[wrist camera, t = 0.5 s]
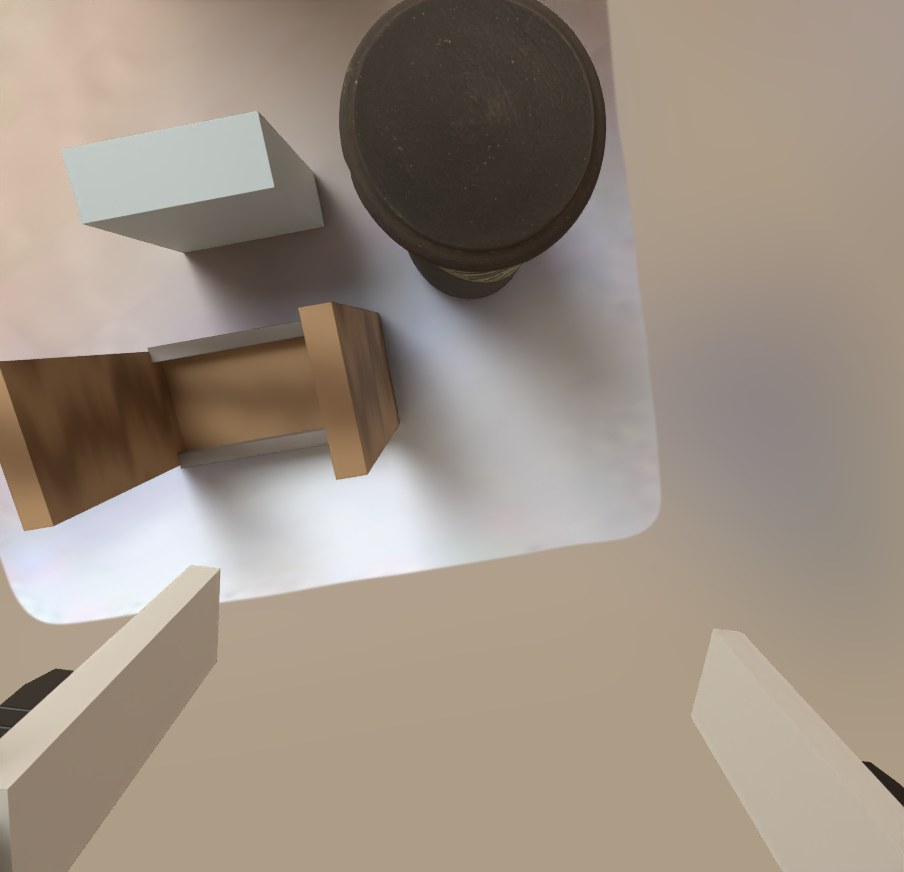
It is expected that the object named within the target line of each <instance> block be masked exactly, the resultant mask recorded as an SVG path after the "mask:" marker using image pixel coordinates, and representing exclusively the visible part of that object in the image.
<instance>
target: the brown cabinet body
mask: <svg viewBox="0 0 904 872" xmlns="http://www.w3.org/2000/svg"><path fill="white" fill-rule="evenodd" d="M298 310H299V314H300V319H301V321H296V322H291V323H285V324H280V325H274V326H268V327H263V328H257V329H252V330H246V331H240V332H235V333H229V334H223V335H218V336H212V337H207V338H201V339H195V340H190V341H184V342H179V343H173V344H167V345H162V346H156V347H150V348H148V351H149V352H137V353H122V354H106V355H91V356H76V357H61V358H46V359H31V360H15V361H0V464H1V467H2V469H3V472H4V475H5V478H6V481H7V484H8V487H9V490H10V492H11V495H12V498H13V501H14V504H15V507H16V510H17V512H18V515H19V518H20V521H21V524H22V527H23V530H24V531H27V530H34V529H40V528H46V527H52V526H55V525H57V524H59V523H61V522H63V521H65V520H67V519H70V518H72V517H74V516H76V515H78V514H80V513H82V512H84V511H86V510H88V509H90V508H92V507H94V506H97V505H99V504H101V503H103V502H105V501H107V500H109V499H111V498H113V497H115V496H117V495H119V494H121V493H123V492H126V491H128V490H130V489H132V488H134V487H136V486H138V485H140V484H142V483H144V482H146V481H148V480H150V479H153V478H155V477H157V476H159V475H161V474H163V473H165V472H167V471H169V470H171V469H173V468H175V467H177V466H179V465H181V468H187V467H193V466H199V465H205V464H211V463H217V462H223V461H229V460H235V459H241V458H247V457H253V456H259V455H265V454H271V453H277V452H283V451H289V450H295V449H301V448H307V447H313V446H319V445H325V444H328V445H329V449H330V454H331V458H332V463H333V467H334V472H335V476H336V480H338V479H344V478H350V477H357V476H363V475H368V473H369V471H370V470H371V468H372V467H373V465H374V464H375V462H376V460H377V459H378V457H379V456H380V454H381V452H382V451H383V449H384V448H385V446H386V444H387V443H388V441H389V440H390V438H391V437H392V435H393V433H394V432H395V430H396V429H397V427H398V425H399V424H400V422H399V417H398V412H397V407H396V401H395V396H394V391H393V386H392V381H391V376H390V370H389V365H388V360H387V355H386V350H385V345H384V340H383V334H382V329H381V324H380V319H379V314H378V313H377V312H372V311H368V310H364V309H359V308H355V307H351V306H347V305H342V304H338V303H334V302H328V303H322V304H317V305H311V306H306V307H300V308H298Z"/></svg>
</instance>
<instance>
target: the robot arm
mask: <svg viewBox="0 0 904 872" xmlns="http://www.w3.org/2000/svg"><path fill="white" fill-rule="evenodd" d="M219 592H220V569H219V568H210V567H202V566H194V565H191V566H190V567H188V568H187V569H186V570H185V571H184V572H183V573H182V574H181V575H180V576H179V577H177V578H176V579H175V580H174V581H173V582H172V583H171V584H170V585H169V586H168V587H166V588H165V589H164V590H163V591H162V592H161V593H160V594H159V595H158V596H157V597H155V598H154V599H153V600H152V601H151V602H150V603H149V604H148V605H147V606H146V607H144V608H143V609H142V610H141V611H140V612H139V613H138V614H137V615H136V616H135V617H133V618H132V619H131V620H130V621H129V622H128V623H127V624H126V625H125V626H124V627H123V628H121V629H120V630H119V631H118V632H117V633H116V634H115V635H114V636H113V637H111V639H109V640H108V641H107V642H106V643H105V644H104V645H103V646H102V647H101V648H99V649H98V650H97V651H96V652H95V653H94V654H93V655H92V656H91V657H90V658H88V659H87V660H86V661H85V662H84V663H83V664H82V665H81V666H80V667H79V668H78V669H77V670H75V671H71V670H63V669H54V670H52V671H50V672H48V673H46V674H45V675H43V676H41V677H39V678H37V679H35V680H33V681H31V682H29V683H27V684H25V685H24V686H22V687H21V688H20V689H19V690H18V691H16V692H15V693H14V694H13V695H12V696H11V697H9V698H8V699H7V700H6V701H5V702H3V703H2V704H1V705H0V872H68V870H69V869H70V867H71V866H72V865H73V863H74V862H75V860H76V859H77V858H78V856H79V855H80V853H81V852H82V851H83V849H84V848H85V846H86V845H87V844H88V842H89V841H90V839H91V838H92V837H93V835H94V834H95V832H96V831H97V830H98V828H99V827H100V825H101V824H102V822H103V821H104V820H105V818H106V817H107V815H108V814H109V813H110V811H111V810H112V808H113V807H114V806H115V804H116V803H117V801H118V800H119V798H120V797H121V796H122V794H123V793H124V791H125V790H126V789H127V787H128V786H129V784H130V783H131V782H132V780H133V779H134V777H135V776H136V775H137V773H138V772H139V770H140V769H141V768H142V766H143V765H144V763H145V762H146V760H147V759H148V758H149V756H150V755H151V753H152V752H153V751H154V749H155V748H156V746H157V745H158V744H159V742H160V741H161V739H162V738H163V737H164V735H165V734H166V732H167V731H168V730H169V728H170V727H171V725H172V724H173V723H174V721H175V720H176V718H177V717H178V715H179V714H180V713H181V711H182V710H183V708H184V707H185V706H186V704H187V703H188V701H189V700H190V699H191V697H192V696H193V694H194V693H195V692H196V690H197V689H198V687H199V686H200V684H201V683H202V682H203V680H204V679H205V677H206V676H207V675H208V673H209V672H210V670H211V669H212V668H213V666H214V665H215V663H216V662H217V646H218V619H219ZM691 719H692V721H693V722H694V724H695V725H696V727H697V729H698V731H699V732H700V734H701V736H702V737H703V739H704V741H705V743H706V744H707V746H708V748H709V749H710V751H711V753H712V754H713V756H714V758H715V759H716V761H717V762H718V764H719V766H720V768H721V769H722V771H723V773H724V775H725V776H726V778H727V779H728V781H729V783H730V785H731V786H732V788H733V790H734V791H735V793H736V795H737V796H738V798H739V800H740V802H741V803H742V805H743V807H744V808H745V810H746V812H747V813H748V815H749V817H750V818H751V820H752V822H753V823H754V825H755V826H756V828H757V830H758V832H759V834H760V835H761V837H762V839H763V840H764V842H765V844H766V845H767V847H768V849H769V850H770V852H771V854H772V855H773V857H774V859H775V860H776V862H777V864H778V866H779V867H780V869H781V871H782V872H904V788H903V787H902V786H901V785H900V784H899V783H897V782H896V781H895V780H894V779H892V778H891V777H890V776H888V775H887V774H885V773H884V772H883V771H881V770H880V769H879V768H877V767H876V766H875V765H873V764H872V763H870V762H864V761H861V760H860V759H859V758H858V757H857V756H856V755H855V754H854V753H853V752H852V751H851V750H850V749H849V747H847V745H846V744H845V743H844V742H843V741H842V740H841V739H840V738H839V737H838V736H837V735H836V733H835V732H834V731H833V730H832V729H831V728H830V727H829V726H828V725H827V724H826V723H825V721H823V719H822V718H821V717H820V716H819V715H818V714H817V713H816V712H815V711H814V710H813V709H812V707H811V706H810V705H809V704H808V703H807V702H806V701H805V700H804V699H803V698H802V697H801V695H800V694H799V693H798V692H797V691H796V690H795V689H794V688H793V687H792V686H791V685H790V684H789V682H788V681H787V680H786V679H785V678H784V677H783V676H782V675H781V674H780V673H779V672H778V671H777V669H775V667H774V666H773V665H772V664H771V663H770V662H769V661H768V660H767V659H766V658H765V656H764V655H763V654H762V653H761V652H760V651H759V650H758V649H757V648H756V647H755V646H754V645H753V644H752V643H751V641H750V640H749V639H748V638H747V637H746V636H745V635H744V634H743V633H742V632H739V631H731V630H723V629H715V628H714V629H713V632H712V636H711V640H710V644H709V648H708V652H707V655H706V659H705V663H704V667H703V670H702V674H701V678H700V682H699V686H698V690H697V694H696V698H695V701H694V706H693V709H692V713H691Z"/></svg>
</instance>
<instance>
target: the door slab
mask: <svg viewBox="0 0 904 872" xmlns="http://www.w3.org/2000/svg"><path fill="white" fill-rule="evenodd" d="M61 152H62V156H63V159H64V163H65V166H66V170H67V173H68V176H69V180H70V183H71V187H72V190H73V194H74V197H75V201H76V204H77V207H78V211H79V214H80V218H81V221H82V224H85V225H88V226H92V227H95V228H99V229H102V230H106V231H109V232H113V233H116V234H120V235H123V236H127V237H130V238H134V239H137V240H140V241H144V242H147V243H151V244H154V245H158V246H161V247H165V248H168V249H172V250H175V251H179V252H182V253H186V252H192V251H197V250H202V249H208V248H213V247H218V246H224V245H229V244H235V243H240V242H245V241H251V240H256V239H261V238H267V237H272V236H278V235H283V234H288V233H294V232H299V231H305V230H310V229H315V228H321V227H325V226H324V221H323V216H322V211H321V206H320V202H319V197H318V192H317V187H316V182H315V177H314V173H313V171H312V170H311V169H310V168H309V167H308V166H307V165H306V164H305V162H304V161H303V160H302V159H301V158H300V157H299V156H298V155H297V154H296V153H295V151H294V150H293V149H292V148H291V147H290V146H289V145H288V144H287V143H286V141H285V140H284V139H283V138H282V137H281V136H280V135H279V134H278V133H277V132H276V130H275V129H274V128H273V127H272V126H271V125H270V124H269V123H268V122H267V121H266V119H265V118H264V117H263V116H262V115H261V114H260V113H259V112H258V111H253V112H248V113H243V114H238V115H233V116H228V117H223V118H218V119H213V120H208V121H203V122H198V123H193V124H187V125H182V126H177V127H172V128H167V129H162V130H157V131H152V132H147V133H142V134H137V135H132V136H127V137H121V138H116V139H111V140H106V141H101V142H96V143H91V144H86V145H81V146H76V147H71V148H66V149H61Z"/></svg>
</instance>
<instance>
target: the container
mask: <svg viewBox="0 0 904 872" xmlns="http://www.w3.org/2000/svg"><path fill="white" fill-rule="evenodd" d="M339 129H340V137H341V146H342V151H343V155H344V159H345V161H346V163H347V165H348V167H349V169H350V171H351V178H352V181H353V184H354V187H355V190H356V192H357V194H358V196H359V198H360V200H361V202H362V204H363V205H364V207H365V208H366V209H367V211H368V212H369V214H370V215H371V216H372V218H373V219H374V220H375V222H376V223H377V224H378V225H379V226H380V227H381V228H382V229H383V230H384V232H385V233H386V234H388V235H389V236H390V237H391V238H392V239H393V240H394V241H395V242H396V243H398V244H399V245H400V246H402V247H403V248H404V249H406V250H407V251H408V253H409V255H410V257H411V259H412V261H413V263H414V264H415V266H416V267H417V269H418V270H419V271H420V273H421V274H422V275H423V276H424V277H425V279H426V280H427V281H428V282H429V283H431V284H432V285H433V286H434V287H436V288H437V289H439V290H441V291H442V292H444V293H446V294H449V295H452V296H456V297H460V298H468V299H472V298H481V297H485V296H488V295H491V294H493V293H495V292H497V291H498V290H500V289H501V288H502V287H503V286H505V285H506V284H507V283H508V282H509V280H511V279H512V277H513V275H514V274H515V273H516V271H517V270H518V268H519V267H520V266H521V264H522V263H524V262H527V261H529V260H530V259H532V258H534V257H536V256H538V255H539V254H541V253H543V252H544V251H546V250H547V249H548V248H549V247H551V246H552V245H553V244H554V243H556V242H557V241H558V240H559V239H560V238H561V237H562V236H563V235H564V234H565V233H566V232H567V231H568V230H569V229H570V228H571V227H572V225H573V224H574V223H575V221H576V220H577V219H578V217H579V216H580V214H581V213H582V211H583V209H584V208H585V206H586V205H587V203H588V201H589V199H590V197H591V195H592V192H593V190H594V188H595V185H596V182H597V179H598V177H599V173H600V169H601V165H602V161H603V156H604V149H605V139H606V115H605V105H604V99H603V94H602V89H601V86H600V82H599V79H598V76H597V73H596V70H595V68H594V65H593V63H592V61H591V59H590V57H589V55H588V53H587V52H586V50H585V48H584V46H583V45H582V43H581V42H580V40H579V39H578V37H577V36H576V35H575V33H574V32H573V31H572V30H571V29H570V27H569V26H568V25H567V24H566V23H565V22H564V21H563V20H562V19H561V18H560V17H559V16H557V15H556V14H555V13H554V12H552V11H551V10H550V9H548V8H547V7H546V6H544V5H543V4H541V3H540V2H538V1H537V0H404V1H403V2H401V3H400V4H398V5H397V6H395V7H394V8H392V9H391V10H389V11H388V12H387V13H386V14H384V15H383V16H382V17H381V18H380V19H379V20H378V21H377V22H376V23H375V24H374V25H373V26H372V27H371V29H370V30H369V31H368V32H367V34H366V35H365V37H364V38H363V39H362V41H361V43H360V44H359V46H358V48H357V49H356V51H355V53H354V55H353V57H352V59H351V61H350V64H349V66H348V69H347V72H346V75H345V79H344V83H343V87H342V92H341V99H340V111H339Z"/></svg>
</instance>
